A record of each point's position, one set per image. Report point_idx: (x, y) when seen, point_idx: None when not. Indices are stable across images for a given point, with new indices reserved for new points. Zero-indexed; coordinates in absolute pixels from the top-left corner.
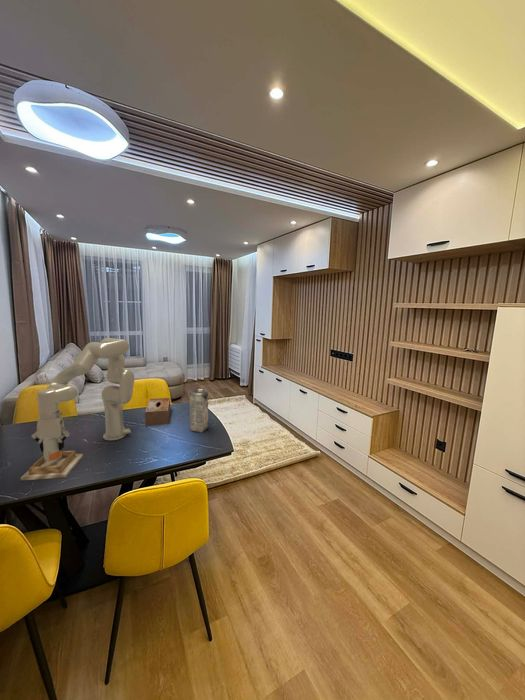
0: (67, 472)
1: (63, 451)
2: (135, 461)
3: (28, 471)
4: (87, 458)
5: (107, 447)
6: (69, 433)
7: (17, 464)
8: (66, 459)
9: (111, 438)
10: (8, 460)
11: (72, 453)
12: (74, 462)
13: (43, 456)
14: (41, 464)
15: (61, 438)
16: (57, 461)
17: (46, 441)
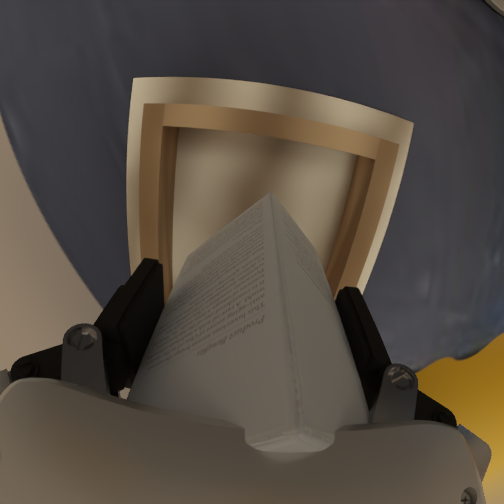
0: None
1: (298, 124)
2: None
3: (135, 264)
4: (430, 165)
5: (498, 78)
6: (478, 465)
7: (41, 137)
8: (351, 278)
9: (500, 5)
10: (3, 99)
11: (383, 194)
12: (379, 234)
13: (151, 179)
14: (171, 213)
15: (380, 403)
16: (264, 183)
17: None
